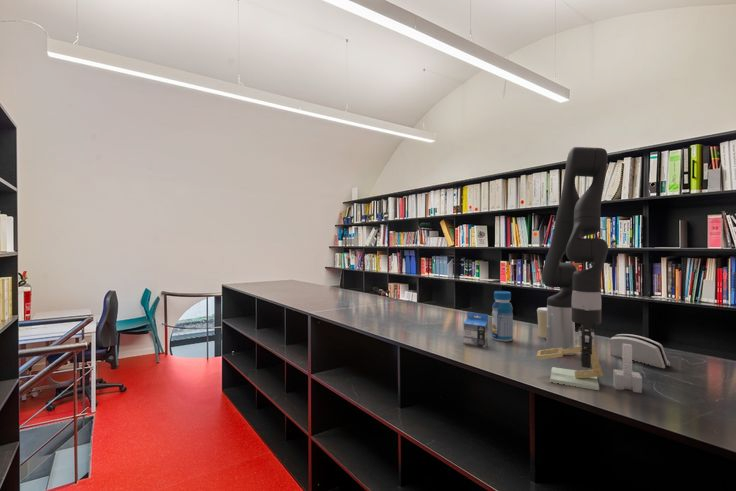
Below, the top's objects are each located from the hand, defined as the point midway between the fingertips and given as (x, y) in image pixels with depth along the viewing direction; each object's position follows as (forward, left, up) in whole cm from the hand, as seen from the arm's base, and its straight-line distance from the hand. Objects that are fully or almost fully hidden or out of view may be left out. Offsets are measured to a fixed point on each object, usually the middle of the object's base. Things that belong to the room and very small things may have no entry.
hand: (585, 365), depth 108 cm
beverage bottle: (-29, +39, -5) cm, 49 cm away
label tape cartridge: (-37, +25, -5) cm, 45 cm away
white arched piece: (+16, +32, -5) cm, 36 cm away
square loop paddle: (-3, 0, -4) cm, 5 cm away
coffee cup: (-12, +54, -5) cm, 56 cm away
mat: (-3, 0, -5) cm, 6 cm away
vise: (+10, +3, -5) cm, 11 cm away
